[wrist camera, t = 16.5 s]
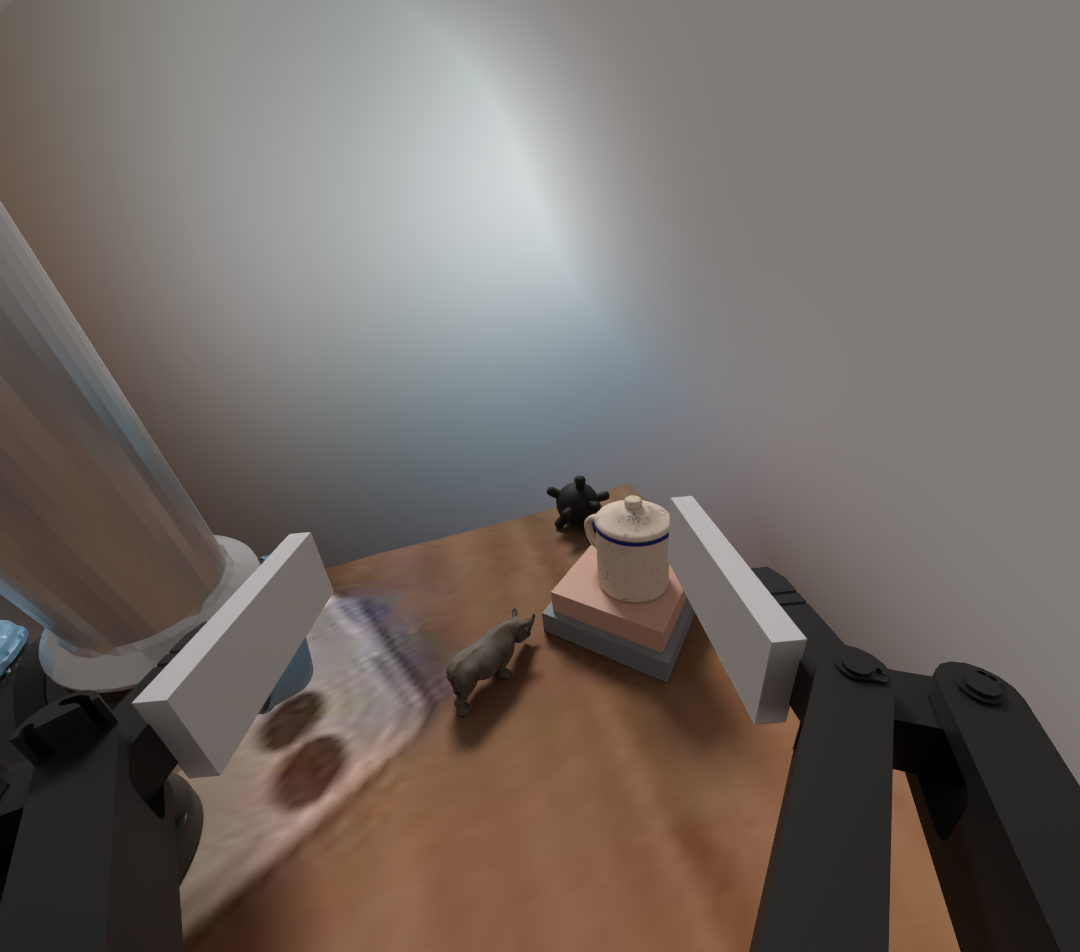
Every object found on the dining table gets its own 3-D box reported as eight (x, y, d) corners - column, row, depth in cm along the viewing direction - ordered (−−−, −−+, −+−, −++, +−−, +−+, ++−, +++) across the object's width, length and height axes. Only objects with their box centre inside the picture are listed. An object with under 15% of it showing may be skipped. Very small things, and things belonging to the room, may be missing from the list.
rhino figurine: (550, 640, 52) (546, 603, 49) (465, 724, 43) (455, 684, 40) (526, 625, 54) (521, 590, 52) (441, 701, 45) (431, 663, 43)
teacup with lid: (684, 578, 51) (691, 495, 46) (641, 618, 46) (643, 529, 41) (608, 542, 59) (607, 468, 54) (564, 572, 54) (558, 494, 49)
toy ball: (587, 486, 82) (630, 492, 72) (566, 535, 80) (608, 547, 70) (548, 462, 77) (590, 464, 67) (525, 513, 75) (564, 524, 65)
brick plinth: (544, 630, 53) (540, 594, 51) (597, 561, 65) (596, 529, 62) (667, 683, 45) (670, 643, 42) (703, 593, 57) (706, 558, 54)
